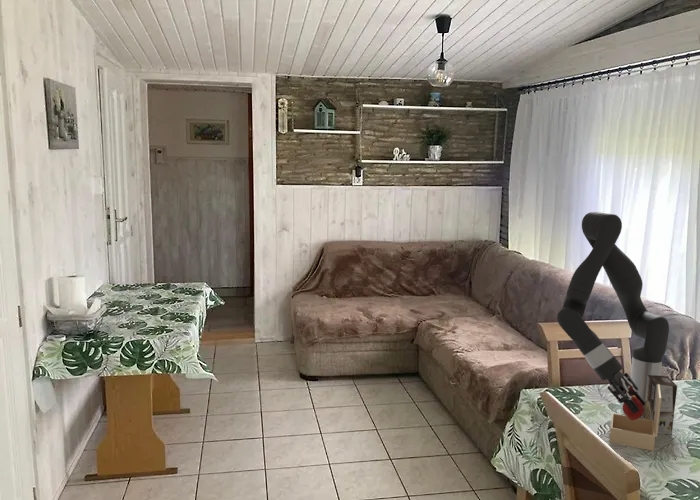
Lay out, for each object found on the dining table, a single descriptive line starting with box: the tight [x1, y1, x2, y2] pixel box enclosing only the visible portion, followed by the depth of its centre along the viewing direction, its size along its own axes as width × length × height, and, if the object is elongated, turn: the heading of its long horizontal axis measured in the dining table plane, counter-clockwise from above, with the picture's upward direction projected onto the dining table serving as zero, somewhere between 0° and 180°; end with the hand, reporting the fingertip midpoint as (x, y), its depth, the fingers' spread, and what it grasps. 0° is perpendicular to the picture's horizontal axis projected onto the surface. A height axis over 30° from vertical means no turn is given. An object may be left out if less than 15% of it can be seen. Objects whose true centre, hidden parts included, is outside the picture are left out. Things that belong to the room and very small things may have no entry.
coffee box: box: [642, 375, 678, 436], centre depth 185 cm, size 9×6×16 cm
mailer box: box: [609, 384, 661, 452], centre depth 177 cm, size 12×12×16 cm
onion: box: [622, 395, 644, 420], centre depth 177 cm, size 6×6×8 cm
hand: (639, 408), depth 176 cm, fingers closed on onion, 5 cm apart
